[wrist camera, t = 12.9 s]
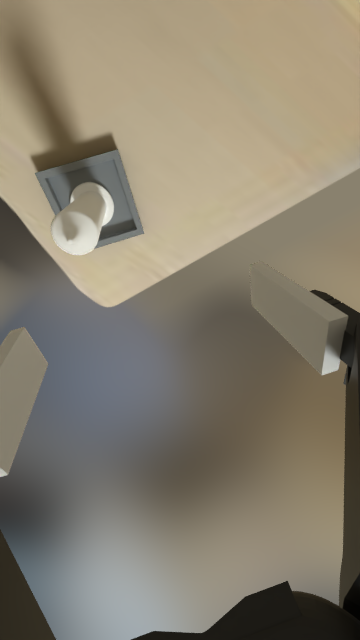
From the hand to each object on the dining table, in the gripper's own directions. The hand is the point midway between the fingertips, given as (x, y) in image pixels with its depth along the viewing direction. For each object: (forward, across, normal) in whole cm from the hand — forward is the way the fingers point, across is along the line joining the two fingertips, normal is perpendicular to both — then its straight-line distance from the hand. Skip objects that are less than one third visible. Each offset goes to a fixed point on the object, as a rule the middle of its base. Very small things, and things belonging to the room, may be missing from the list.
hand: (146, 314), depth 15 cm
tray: (+37, -5, +3) cm, 38 cm away
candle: (+37, -5, +3) cm, 37 cm away
